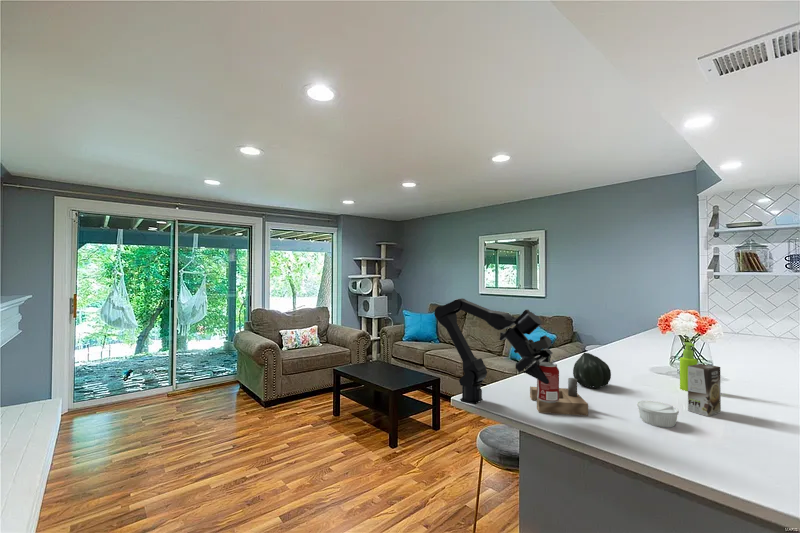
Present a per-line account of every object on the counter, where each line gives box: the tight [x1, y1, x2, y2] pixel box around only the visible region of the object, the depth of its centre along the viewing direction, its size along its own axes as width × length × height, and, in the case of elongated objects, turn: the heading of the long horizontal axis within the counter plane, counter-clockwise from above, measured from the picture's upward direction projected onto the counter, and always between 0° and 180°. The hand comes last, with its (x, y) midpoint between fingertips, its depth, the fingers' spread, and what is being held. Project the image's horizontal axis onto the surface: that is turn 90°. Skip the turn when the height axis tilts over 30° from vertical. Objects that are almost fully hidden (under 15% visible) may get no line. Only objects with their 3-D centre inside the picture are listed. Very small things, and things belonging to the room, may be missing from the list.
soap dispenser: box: [679, 341, 698, 392], centre depth 158 cm, size 6×7×20 cm
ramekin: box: [636, 400, 680, 428], centre depth 123 cm, size 11×11×5 cm
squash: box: [572, 352, 612, 389], centre depth 163 cm, size 14×15×15 cm
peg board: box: [529, 377, 589, 417], centre depth 138 cm, size 16×17×10 cm
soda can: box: [536, 361, 560, 403], centre depth 124 cm, size 7×7×12 cm
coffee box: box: [687, 363, 722, 417], centre depth 133 cm, size 9×6×16 cm
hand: (552, 381), depth 123 cm, fingers closed on soda can, 6 cm apart
